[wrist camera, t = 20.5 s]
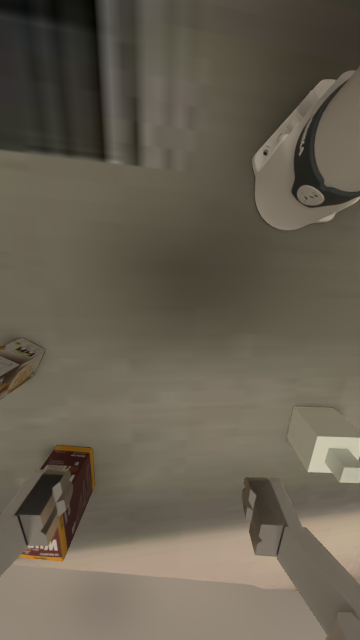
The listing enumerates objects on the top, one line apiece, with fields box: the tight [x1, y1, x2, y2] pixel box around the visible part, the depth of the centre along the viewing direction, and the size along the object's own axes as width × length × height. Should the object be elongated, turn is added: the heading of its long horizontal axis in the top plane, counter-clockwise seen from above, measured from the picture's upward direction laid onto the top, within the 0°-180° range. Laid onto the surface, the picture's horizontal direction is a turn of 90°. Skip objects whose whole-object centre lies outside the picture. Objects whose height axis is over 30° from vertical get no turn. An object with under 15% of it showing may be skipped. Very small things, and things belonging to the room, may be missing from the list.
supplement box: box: [19, 445, 95, 561], centre depth 47 cm, size 10×15×16 cm
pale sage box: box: [287, 406, 360, 483], centre depth 42 cm, size 10×10×13 cm
